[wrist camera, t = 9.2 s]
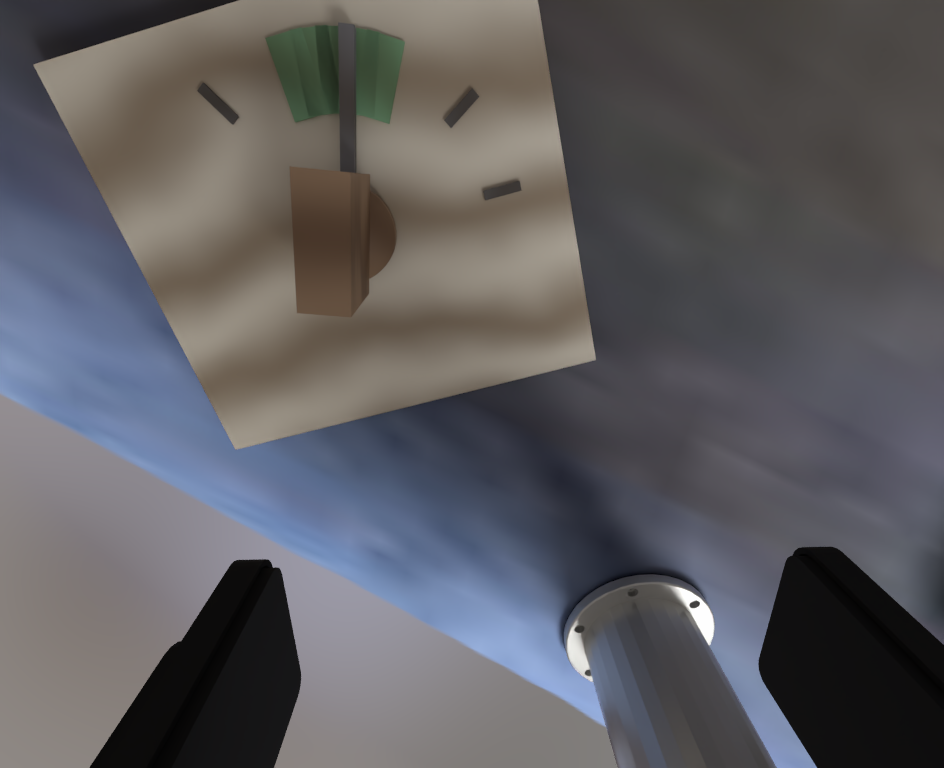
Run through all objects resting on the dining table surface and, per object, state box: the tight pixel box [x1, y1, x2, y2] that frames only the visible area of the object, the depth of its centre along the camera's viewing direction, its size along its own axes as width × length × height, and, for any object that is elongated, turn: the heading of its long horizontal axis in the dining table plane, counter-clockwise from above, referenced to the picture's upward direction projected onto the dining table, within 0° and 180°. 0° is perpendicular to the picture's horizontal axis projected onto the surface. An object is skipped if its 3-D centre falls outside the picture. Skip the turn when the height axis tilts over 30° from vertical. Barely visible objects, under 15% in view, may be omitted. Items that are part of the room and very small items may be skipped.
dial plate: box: [34, 0, 596, 450], centre depth 27 cm, size 22×24×2 cm
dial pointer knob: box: [289, 22, 397, 317], centre depth 22 cm, size 12×5×6 cm, turn 175°
